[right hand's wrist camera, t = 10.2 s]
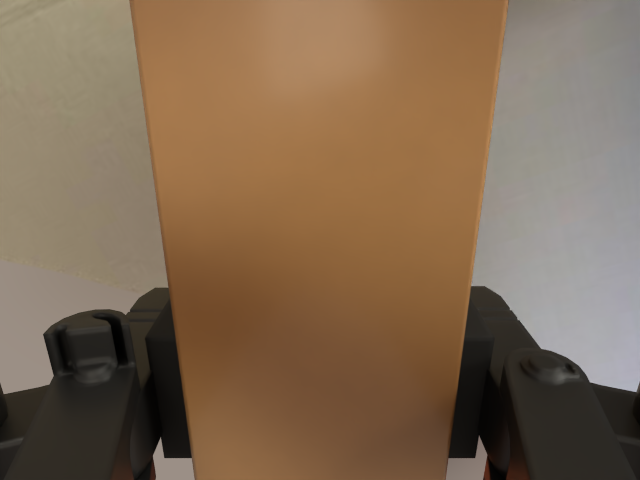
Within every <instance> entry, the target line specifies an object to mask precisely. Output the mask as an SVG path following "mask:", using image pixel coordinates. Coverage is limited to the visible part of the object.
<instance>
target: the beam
mask: <svg viewBox="0 0 640 480" xmlns="http://www.w3.org/2000/svg"><path fill="white" fill-rule="evenodd" d="M129 1H130V8H131V15H132V23H133V30H134V37H135V45H136V52H137V59H138V67H139V74H140V81H141V89H142V96H143V103H144V111H145V118H146V125H147V133H148V140H149V147H150V155H151V162H152V169H153V177H154V184H155V191H156V199H157V206H158V213H159V221H160V228H161V235H162V243H163V250H164V257H165V265H166V272H167V279H168V287H169V294H170V301H171V309H172V316H173V323H174V331H175V338H176V345H177V353H178V360H179V367H180V375H181V382H182V389H183V397H184V404H185V411H186V419H187V426H188V433H189V441H190V448H191V455H192V462H193V470H194V477H195V480H445V479H446V472H447V464H448V457H449V449H450V442H451V434H452V426H453V419H454V411H455V404H456V396H457V388H458V381H459V373H460V366H461V358H462V351H463V343H464V335H465V328H466V320H467V313H468V305H469V298H470V290H471V282H472V275H473V267H474V260H475V252H476V245H477V237H478V229H479V222H480V214H481V207H482V199H483V192H484V184H485V176H486V169H487V161H488V154H489V146H490V139H491V131H492V123H493V116H494V108H495V101H496V93H497V85H498V78H499V70H500V63H501V55H502V48H503V40H504V32H505V25H506V17H507V10H508V2H509V0H129Z"/></svg>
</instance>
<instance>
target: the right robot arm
mask: <svg viewBox="0 0 640 480" xmlns="http://www.w3.org/2000/svg"><path fill="white" fill-rule="evenodd" d="M43 336H44V339H45V343H46V347H47V351H48V355H49V359H50V363H51V367H52V370H53V374H54V377H53V379H52V381H51V383H50V385H46V386H42V387H38V388H33V389H28V390H23V391H18V392H13V393H8V394H3V391H2V388H1V384H0V480H155V479H156V474H155V467H154V461H153V454H154V451H155V449H156V447H157V444H158V442H159V440H160V437H161V440H162V446H163V452H164V458H192V455H191V448H190V441H189V433H188V426H187V419H186V411H185V404H184V397H183V389H182V382H181V375H180V367H179V360H178V353H177V345H176V338H175V331H174V323H173V316H172V309H171V301H170V294H169V288H154V289H153V290H151V291H149V292H148V293H146V294H145V295H143V296H141V297H140V298H139V299H138V300H137V301H136V303H135V304H134V305H133V307H132V308H131V309H130V312H128V313H127V315H125V314H123V313H122V312H119V311H115V310H110V309H107V310H92V311H86V312H81V313H77V314H75V315H72V316H69V317H66V318H64V319H62V320H60V321H59V322H57V323H55V324H53V325H52V326H51V327H50V328H49V329H48V330H47V331H46V332H45V333H44V334H43ZM479 436H480V438H481V440H482V443H483V445H484V448H485V450H486V452H487V461H486V467H485V472H484V478H483V480H640V383H639V386H638V389H637V392H632V391H627V390H622V389H617V388H612V387H607V386H602V385H598V384H594V383H590V382H589V380H588V378H587V376H586V374H585V373H584V372H583V371H582V369H581V368H580V367H579V366H578V365H577V364H575V363H574V362H572V361H571V360H569V359H568V358H567V357H564V356H562V355H559V354H557V353H555V352H552V351H548V350H543V349H541V348H540V347H539V346H538V344H537V343H536V342H535V340H534V339H533V338H532V336H531V335H530V334H529V333H528V331H527V330H526V329H525V327H524V326H523V325H522V323H521V322H520V321H519V320H517V317H516V316H515V314H514V313H513V312H512V310H510V308H509V306H508V305H507V304H506V303H505V301H504V300H503V299H502V297H501V296H499V295H498V294H496V293H495V292H493V291H491V290H490V289H488V288H487V287H485V286H471V290H470V298H469V305H468V313H467V320H466V328H465V335H464V343H463V351H462V358H461V366H460V373H459V381H458V388H457V396H456V404H455V411H454V419H453V426H452V434H451V442H450V449H449V457H448V458H475V456H476V450H477V444H478V438H479Z"/></svg>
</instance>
